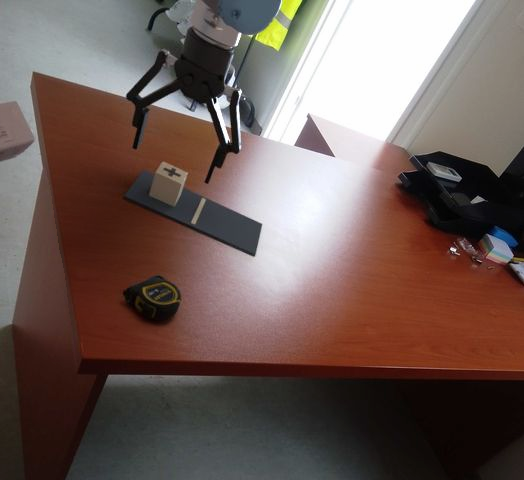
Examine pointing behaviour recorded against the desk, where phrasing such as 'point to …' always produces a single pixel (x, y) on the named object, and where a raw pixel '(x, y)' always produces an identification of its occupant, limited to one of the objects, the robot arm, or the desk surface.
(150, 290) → the tape measure
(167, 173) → the plus sign block
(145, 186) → the mat
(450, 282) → the desk surface
